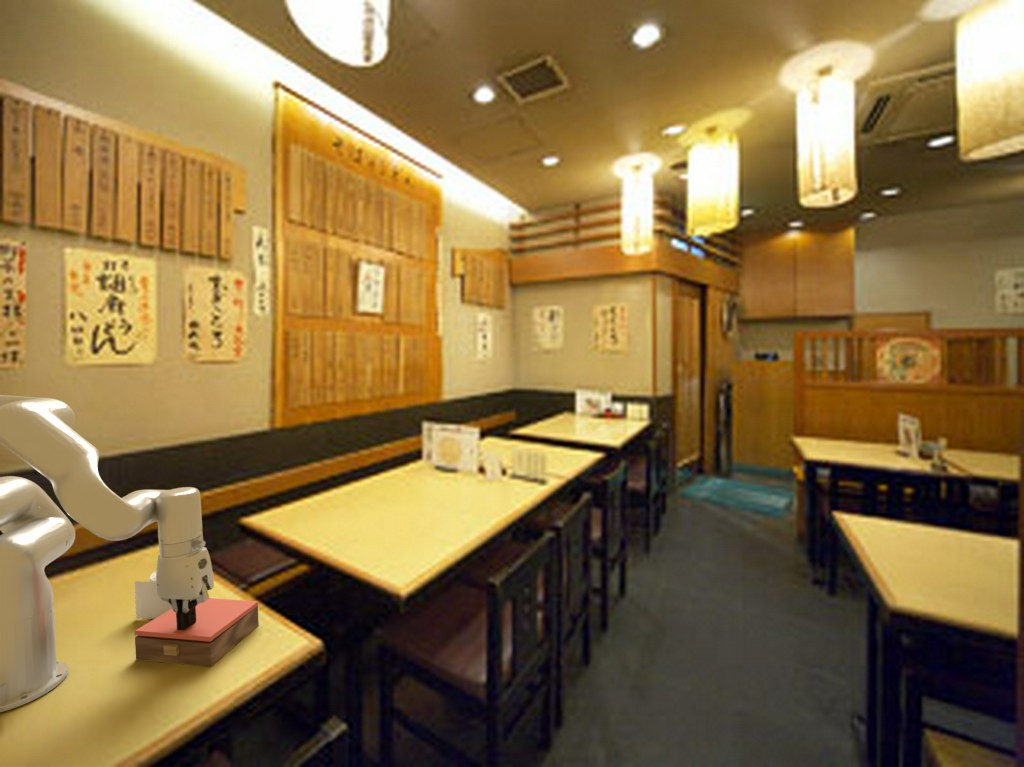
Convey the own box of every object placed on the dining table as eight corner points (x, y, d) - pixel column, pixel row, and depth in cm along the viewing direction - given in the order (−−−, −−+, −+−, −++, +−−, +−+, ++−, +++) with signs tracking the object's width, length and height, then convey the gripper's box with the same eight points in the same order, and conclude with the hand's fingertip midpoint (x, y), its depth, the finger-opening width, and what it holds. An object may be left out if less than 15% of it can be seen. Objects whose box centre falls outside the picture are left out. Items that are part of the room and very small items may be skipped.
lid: (210, 641, 88) (210, 636, 88) (135, 635, 90) (134, 630, 90) (258, 605, 102) (258, 601, 102) (191, 600, 104) (191, 596, 104)
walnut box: (208, 668, 88) (208, 645, 87) (133, 661, 90) (132, 639, 89) (258, 625, 102) (258, 605, 102) (192, 620, 104) (191, 600, 104)
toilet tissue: (212, 599, 114) (211, 563, 113) (165, 626, 102) (164, 586, 101) (182, 593, 116) (181, 558, 116) (134, 618, 105) (132, 580, 104)
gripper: (226, 539, 94) (231, 617, 95) (167, 537, 95) (172, 614, 96) (197, 554, 86) (203, 639, 87) (134, 552, 88) (139, 635, 89)
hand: (186, 626), depth 92 cm, fingers closed
